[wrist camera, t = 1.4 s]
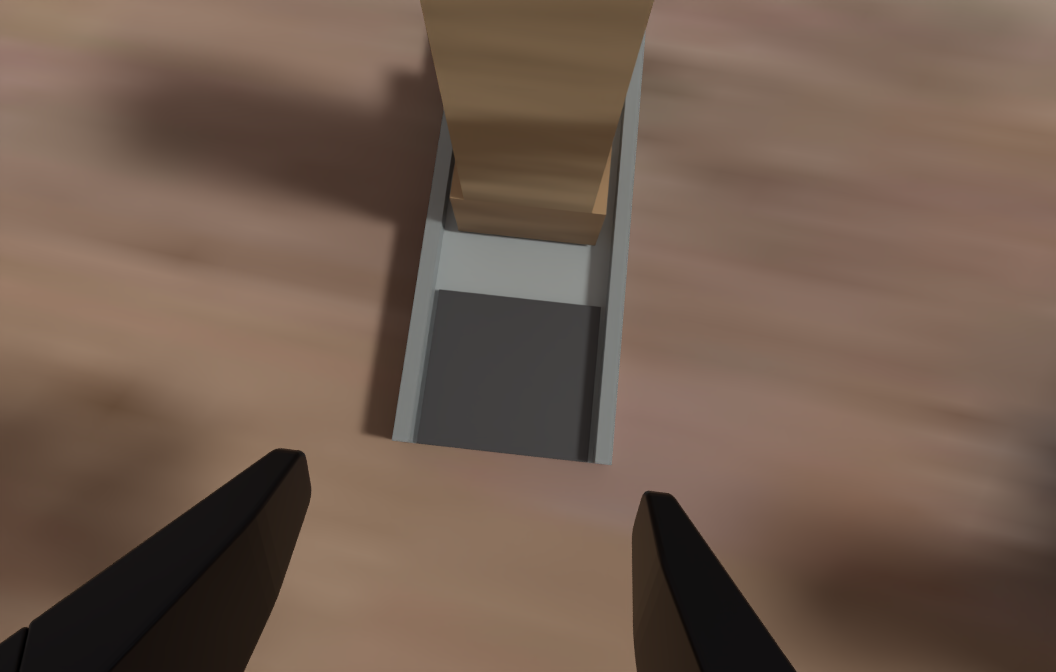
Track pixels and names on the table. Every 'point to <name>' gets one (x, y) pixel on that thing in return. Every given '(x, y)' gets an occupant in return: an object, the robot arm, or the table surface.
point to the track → (519, 326)
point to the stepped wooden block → (533, 109)
